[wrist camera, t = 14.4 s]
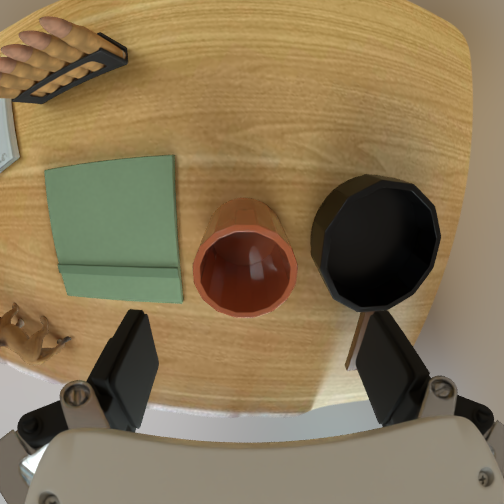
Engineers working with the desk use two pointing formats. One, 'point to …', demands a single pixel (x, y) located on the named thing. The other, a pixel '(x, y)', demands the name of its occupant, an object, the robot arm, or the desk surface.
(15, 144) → the hard drive
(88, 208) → the notepad
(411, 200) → the pan
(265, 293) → the cup
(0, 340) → the lion figurine
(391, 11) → the desk surface
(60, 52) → the ammunition clip
